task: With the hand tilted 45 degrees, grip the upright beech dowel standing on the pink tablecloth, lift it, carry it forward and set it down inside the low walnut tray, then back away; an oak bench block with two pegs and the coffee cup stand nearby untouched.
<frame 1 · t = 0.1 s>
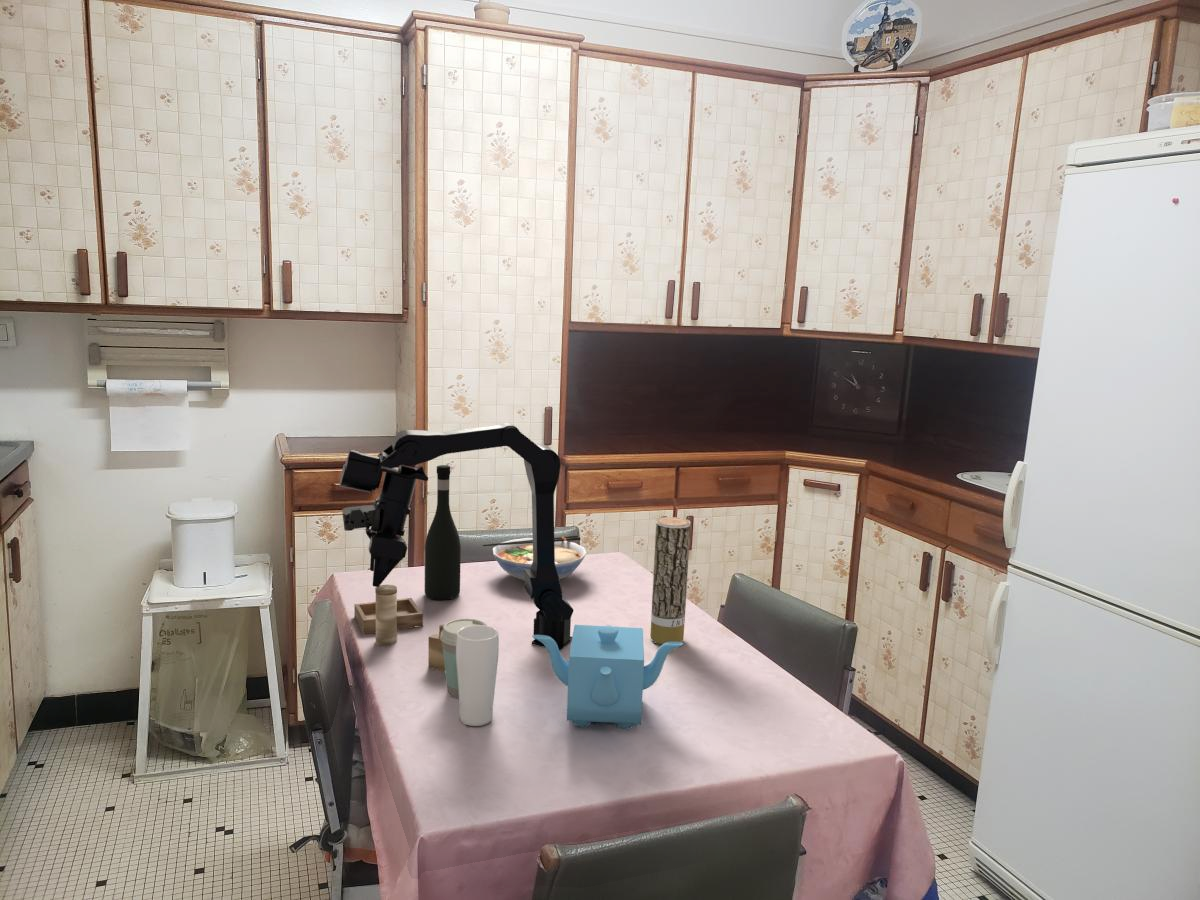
hand: (374, 578, 164), 15 cm above the table, tool pointing down, fingers open, 9 cm apart
teakettle: (604, 716, 147), on the table
ramen bowl: (538, 580, 215), on the table
coffee cup: (464, 692, 154), on the table
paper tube: (666, 641, 180), on the table
drinking glass: (476, 721, 144), on the table
beech dowel: (386, 641, 174), on the table
walnut tray: (388, 621, 184), on the table
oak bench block: (456, 669, 162), on the table
wine bottle: (442, 596, 201), on the table
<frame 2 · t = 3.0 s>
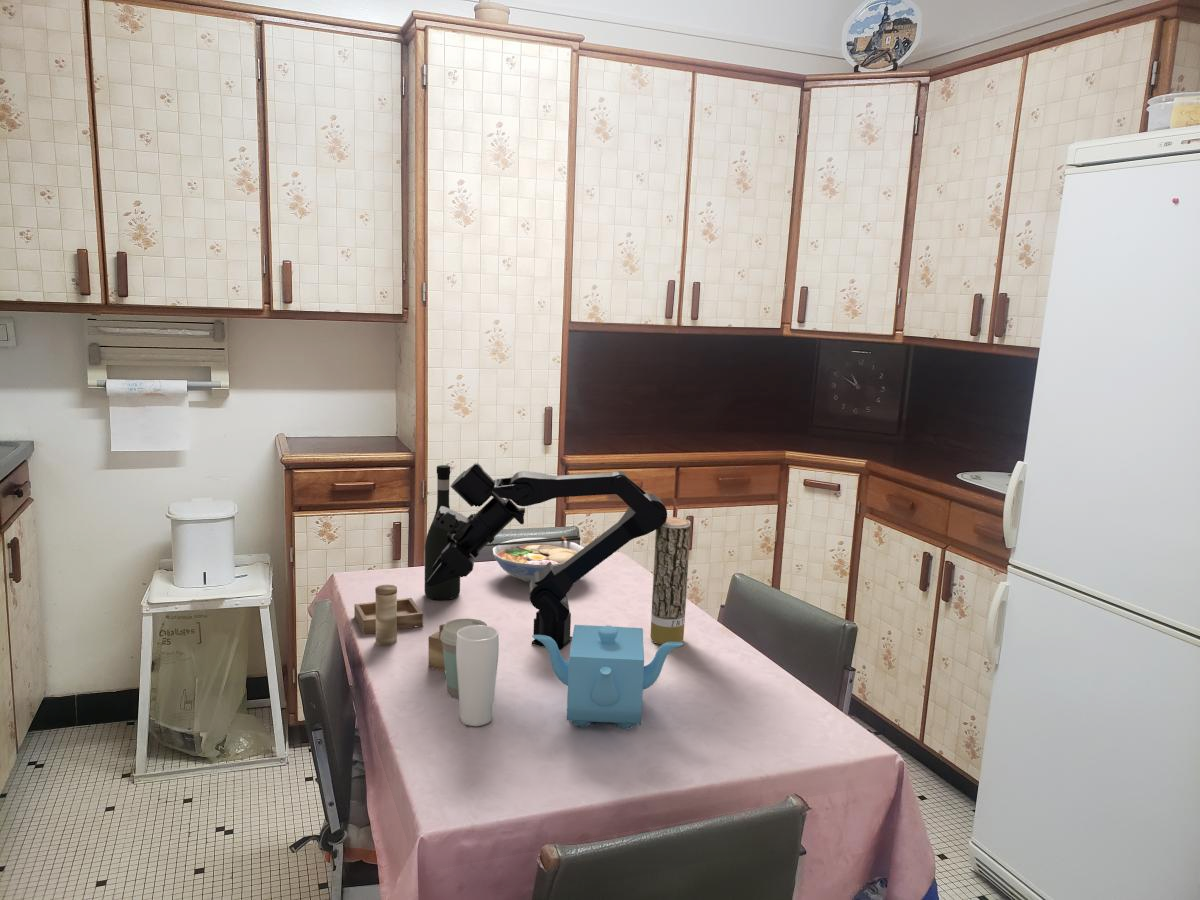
hand: (430, 577, 172), 13 cm above the table, tool tilted 45°, fingers open, 9 cm apart
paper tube: (666, 641, 180), on the table, touching arm
everything else where it was.
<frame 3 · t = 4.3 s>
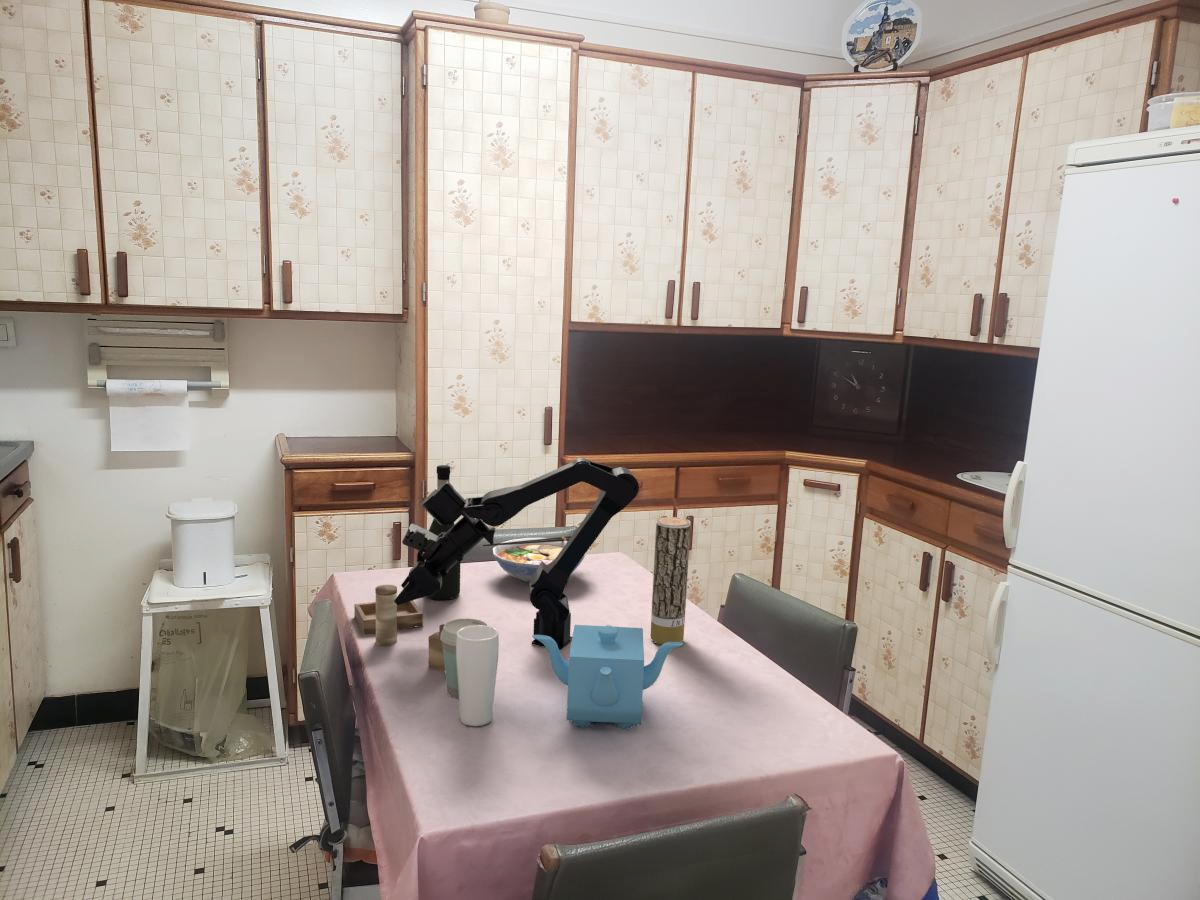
hand: (399, 595, 172), 10 cm above the table, tool tilted 45°, fingers open, 9 cm apart
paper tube: (666, 641, 180), on the table
everything else where it was.
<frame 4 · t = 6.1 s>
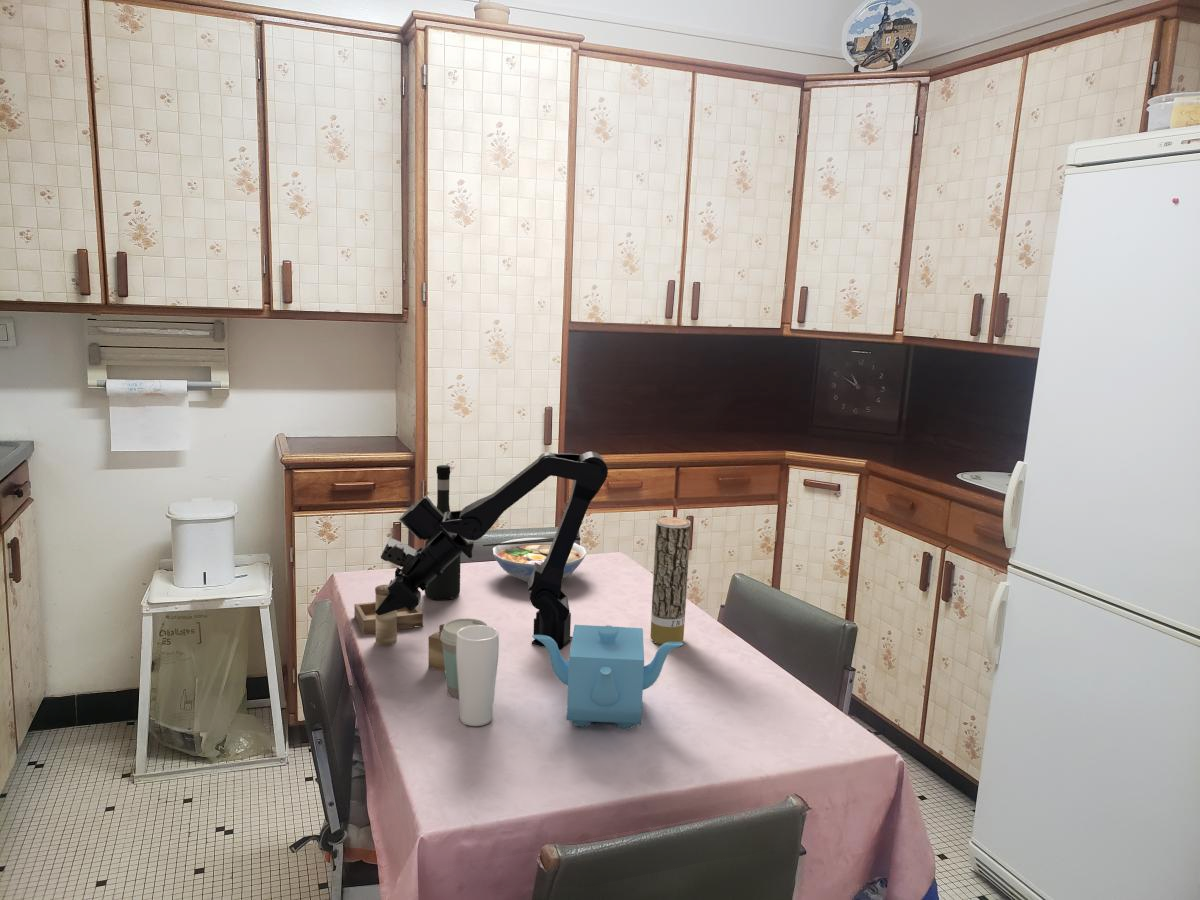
hand: (378, 609, 172), 7 cm above the table, tool tilted 45°, fingers closed on beech dowel, 4 cm apart
beech dowel: (386, 641, 174), on the table, touching gripper
everything else where it was.
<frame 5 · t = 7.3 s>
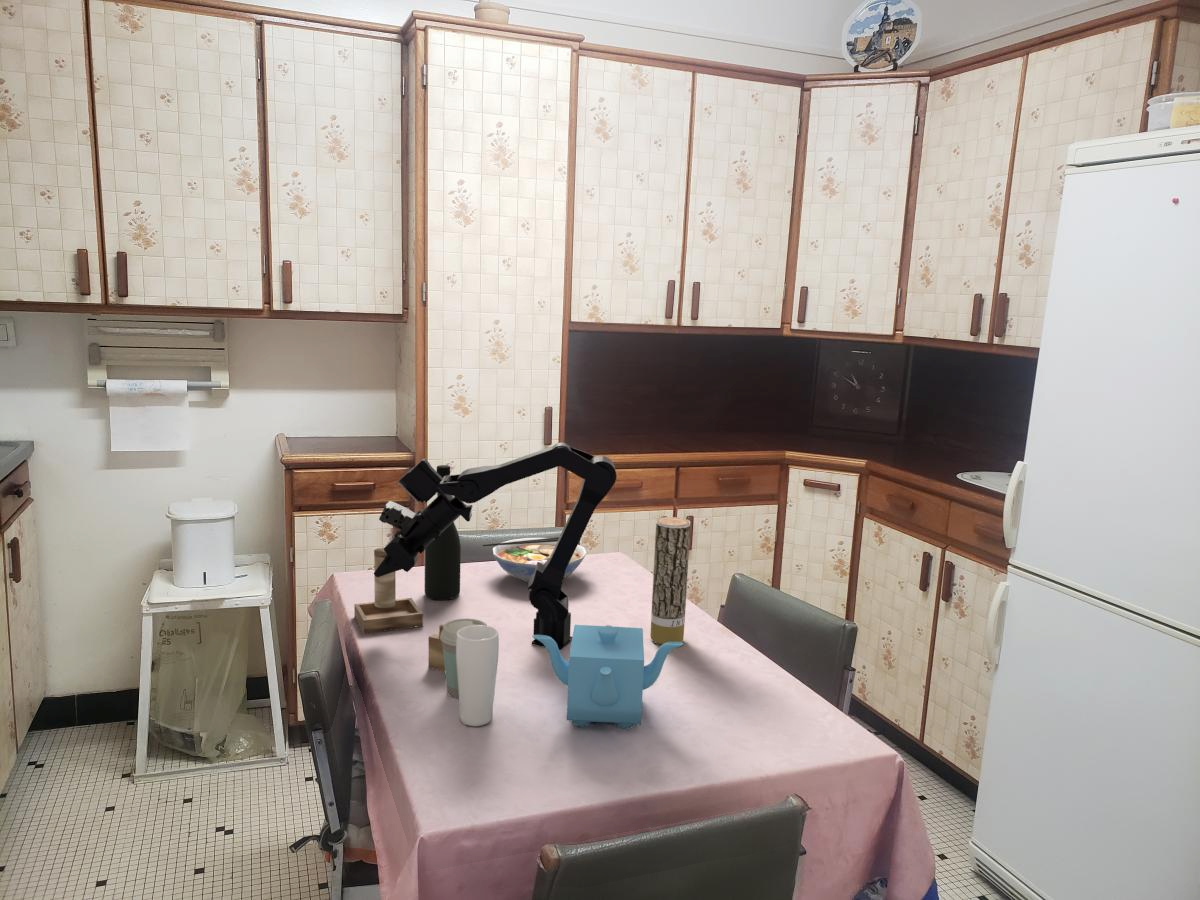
hand: (377, 571, 173), 14 cm above the table, tool tilted 45°, fingers closed on beech dowel, 4 cm apart
beech dowel: (385, 604, 174), point 7 cm above the table, touching gripper
everything else where it was.
when the fingers open (9 cm above the table, at t = 9.0 s): beech dowel drops 2 cm, resting on walnut tray.
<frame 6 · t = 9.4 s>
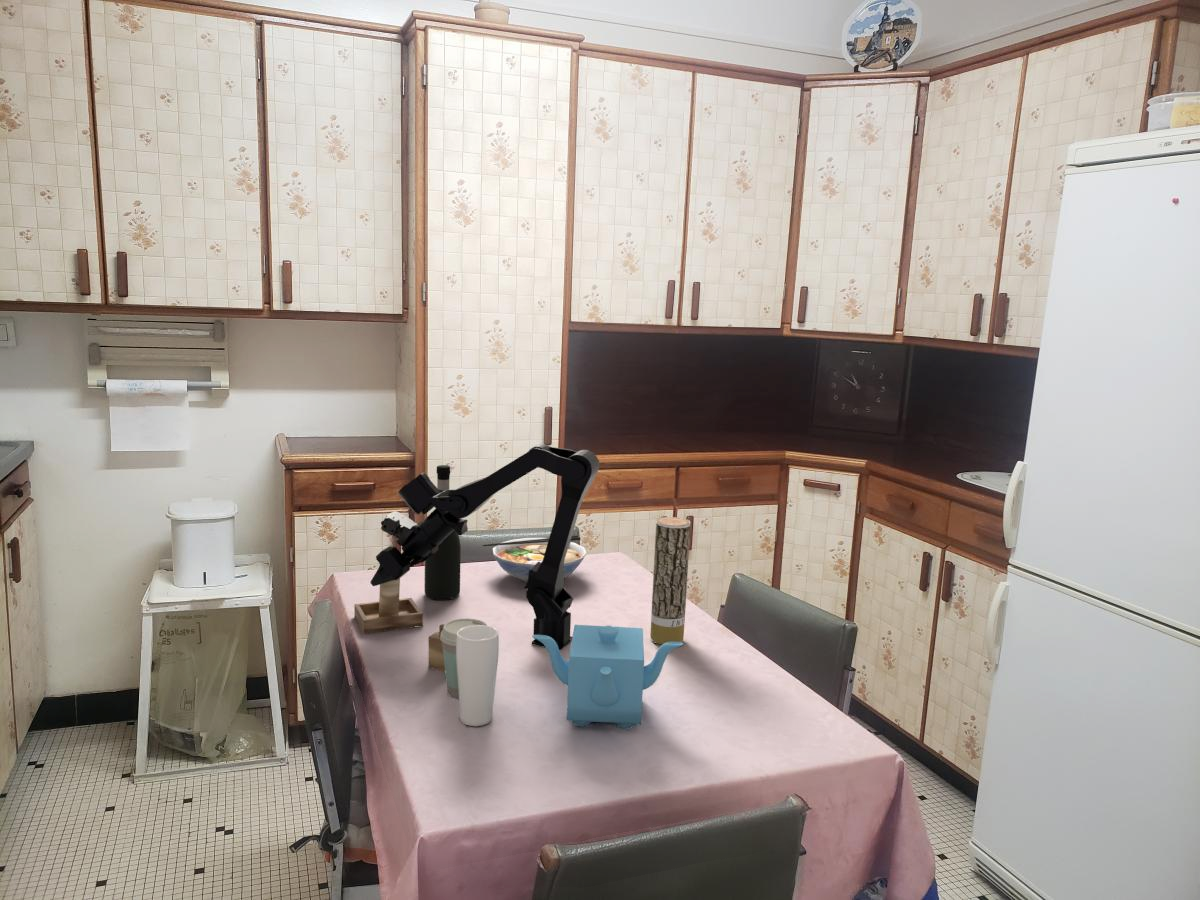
hand: (382, 577, 183), 9 cm above the table, tool tilted 45°, fingers open, 9 cm apart
beech dowel: (388, 617, 184), point 1 cm above the table, touching walnut tray
everything else where it was.
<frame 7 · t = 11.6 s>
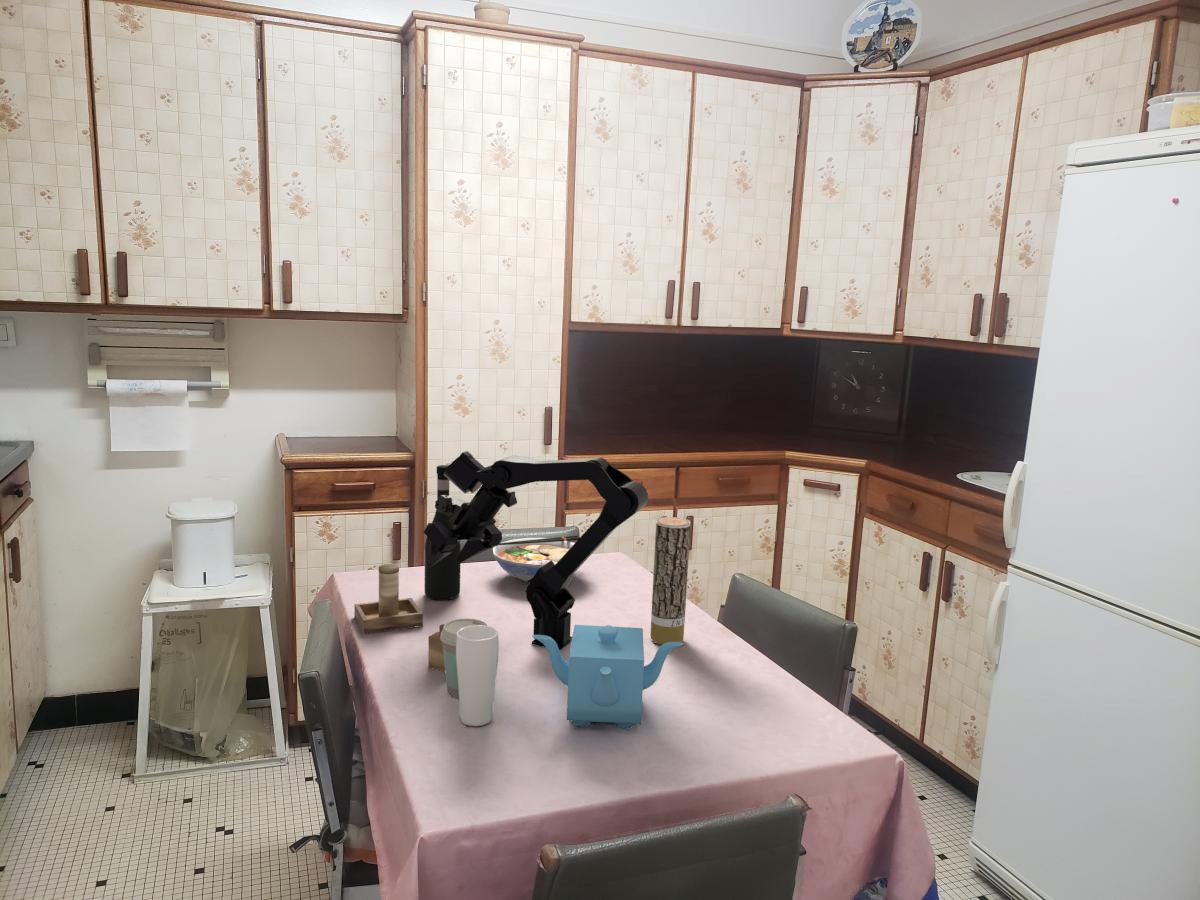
hand: (443, 563, 183), 13 cm above the table, tool tilted 35°, fingers open, 9 cm apart
nothing on the table moved.
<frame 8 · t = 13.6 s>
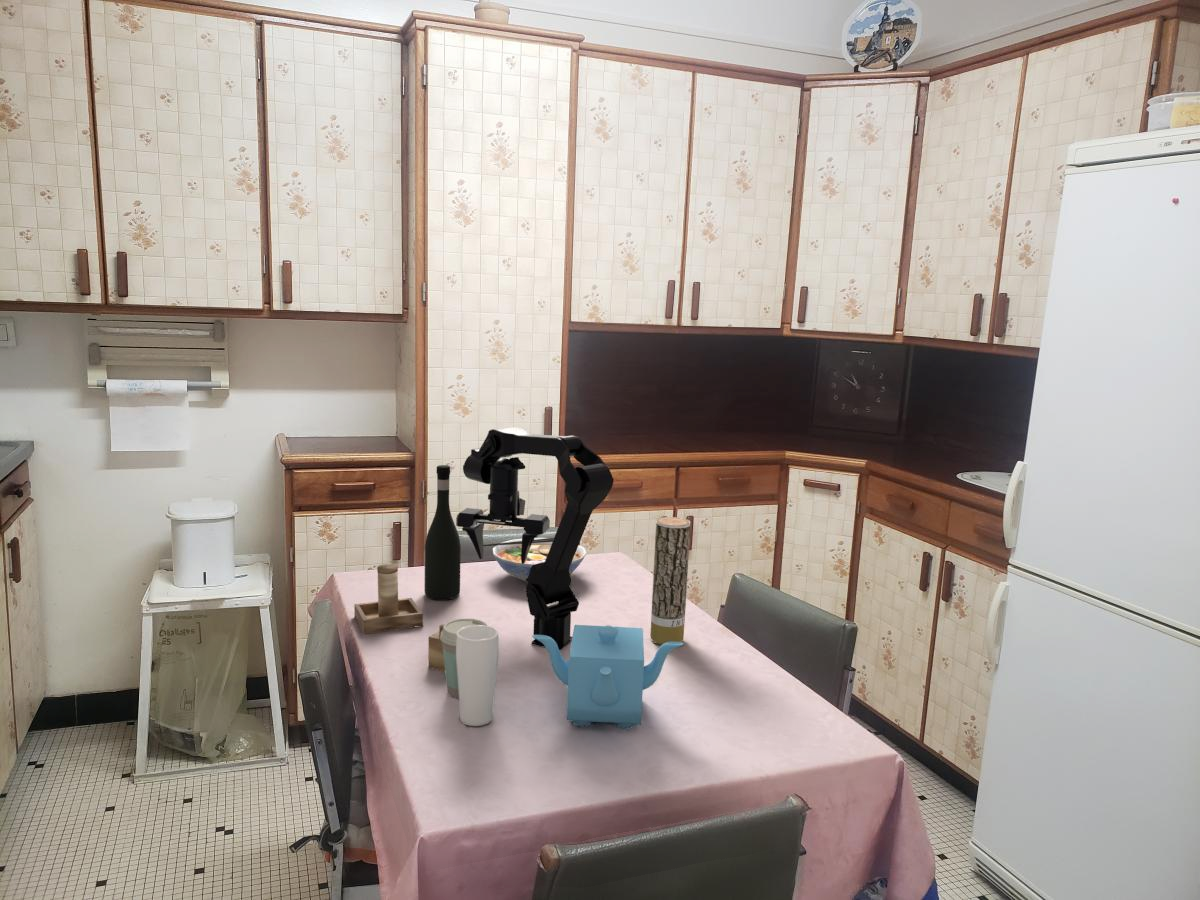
hand: (502, 560, 185), 13 cm above the table, tool pointing down, fingers open, 9 cm apart
nothing on the table moved.
at the end: beech dowel inside the target area on the walnut tray (0.0 cm from its centre), point 0.8 cm above the walnut tray's base; beech dowel moved 10.9 cm from its start; the gripper is holding nothing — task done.
